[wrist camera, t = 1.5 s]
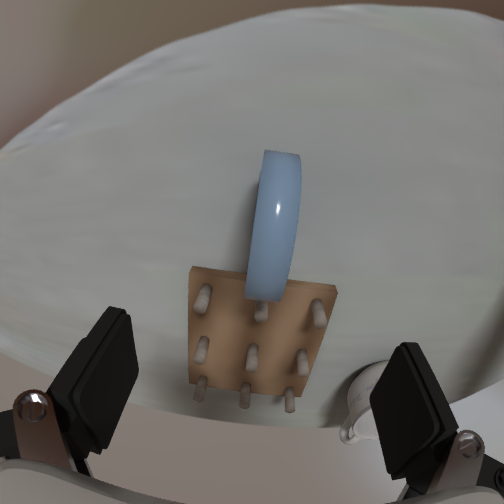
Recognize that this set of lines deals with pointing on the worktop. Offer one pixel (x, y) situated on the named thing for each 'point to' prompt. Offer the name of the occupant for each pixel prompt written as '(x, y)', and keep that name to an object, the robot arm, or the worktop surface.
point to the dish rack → (254, 335)
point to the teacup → (361, 406)
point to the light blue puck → (274, 226)
